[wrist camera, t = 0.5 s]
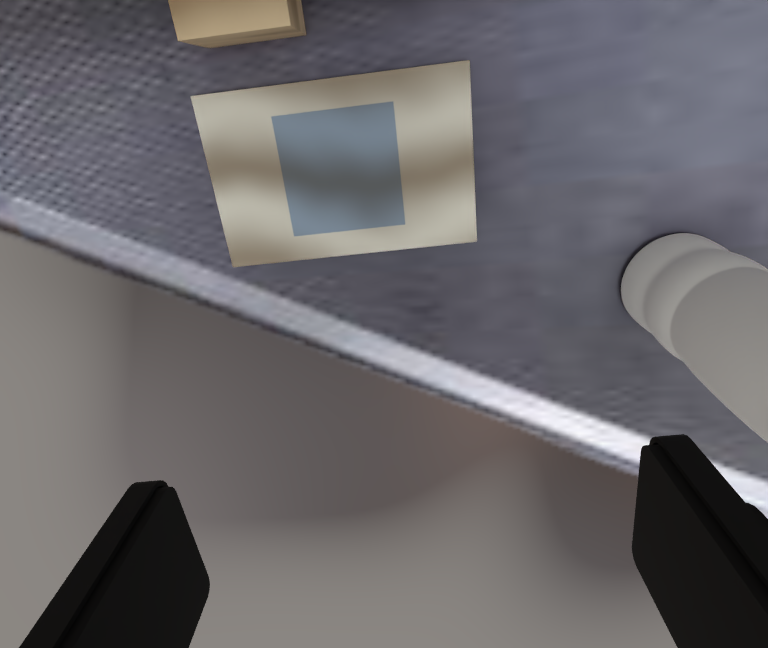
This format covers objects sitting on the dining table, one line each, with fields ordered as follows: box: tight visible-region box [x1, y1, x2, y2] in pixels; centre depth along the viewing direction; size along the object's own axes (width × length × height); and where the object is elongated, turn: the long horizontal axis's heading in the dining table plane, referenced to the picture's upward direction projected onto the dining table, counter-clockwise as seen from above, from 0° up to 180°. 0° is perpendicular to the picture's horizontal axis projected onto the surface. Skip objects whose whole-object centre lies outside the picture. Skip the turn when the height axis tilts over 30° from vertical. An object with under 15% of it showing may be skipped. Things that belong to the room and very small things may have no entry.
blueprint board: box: [191, 60, 477, 267], centre depth 33 cm, size 11×17×1 cm, turn 97°
